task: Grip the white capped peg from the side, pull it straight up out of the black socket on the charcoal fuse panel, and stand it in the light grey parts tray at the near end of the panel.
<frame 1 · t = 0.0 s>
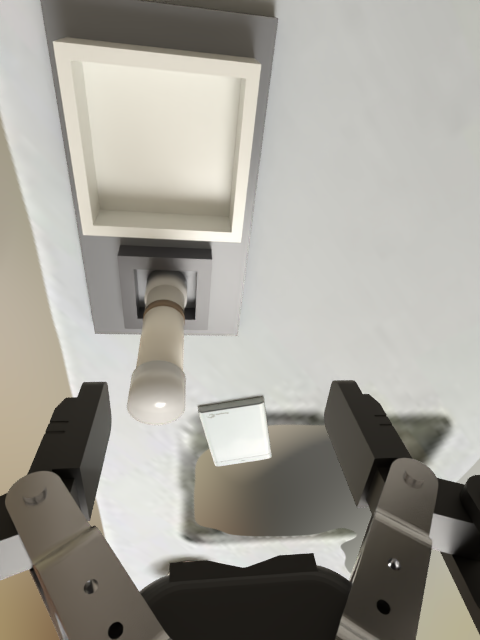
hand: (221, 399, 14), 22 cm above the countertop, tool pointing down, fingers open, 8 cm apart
hard drive: (236, 426, 53), on the countertop
fuse panel: (167, 222, 33), on the countertop
white capped peg: (167, 284, 36), point 1 cm above the countertop, touching fuse panel
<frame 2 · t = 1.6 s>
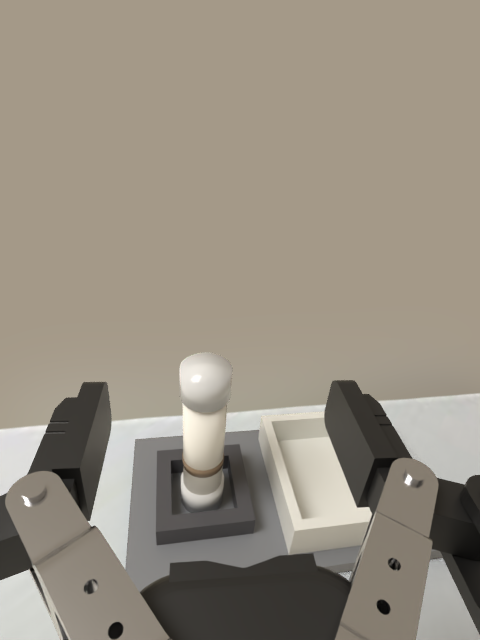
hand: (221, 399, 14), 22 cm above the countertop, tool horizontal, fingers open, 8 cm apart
fuse panel: (262, 498, 36), on the countertop
white capped peg: (202, 496, 34), point 1 cm above the countertop, touching fuse panel
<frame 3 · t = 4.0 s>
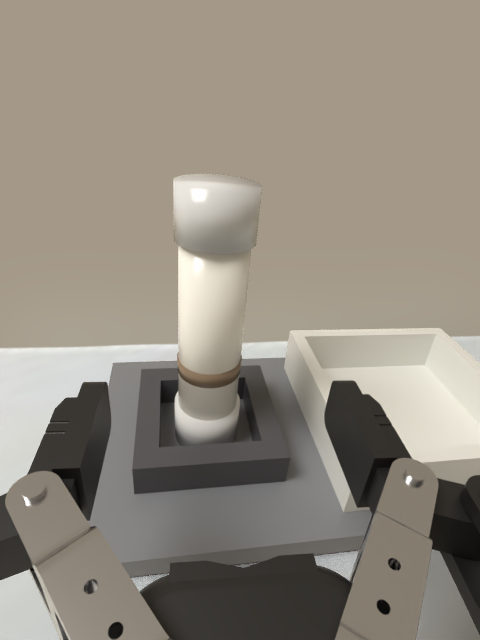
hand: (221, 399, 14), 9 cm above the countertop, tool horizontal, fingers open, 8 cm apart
fuse panel: (293, 439, 25), on the countertop
white capped peg: (206, 431, 23), point 1 cm above the countertop, touching fuse panel
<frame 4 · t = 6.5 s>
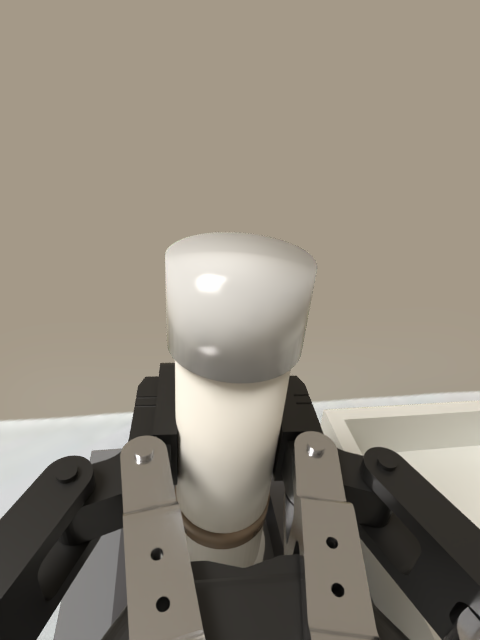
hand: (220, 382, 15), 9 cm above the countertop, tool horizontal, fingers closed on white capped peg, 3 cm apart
fuse panel: (334, 571, 18), on the countertop
white capped peg: (215, 572, 17), point 1 cm above the countertop, touching fuse panel, gripper
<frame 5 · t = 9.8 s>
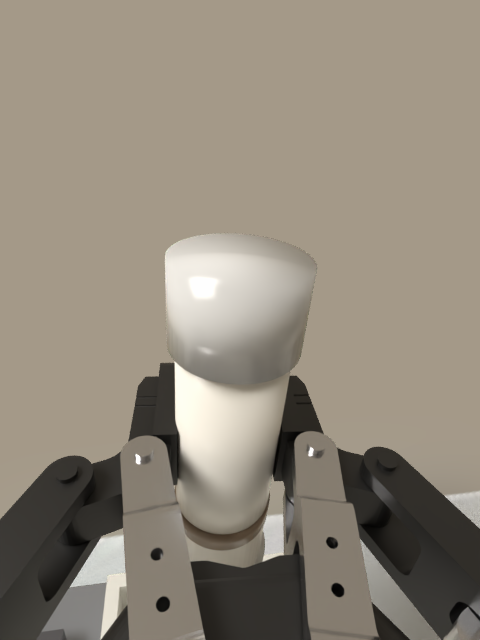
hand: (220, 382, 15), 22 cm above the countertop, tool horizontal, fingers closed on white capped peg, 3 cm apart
white capped peg: (215, 573, 17), point 14 cm above the countertop, touching gripper
when the fingers open (10 cm above the countertop, at t = 13.3 s): white capped peg stays where it is, resting on fuse panel.
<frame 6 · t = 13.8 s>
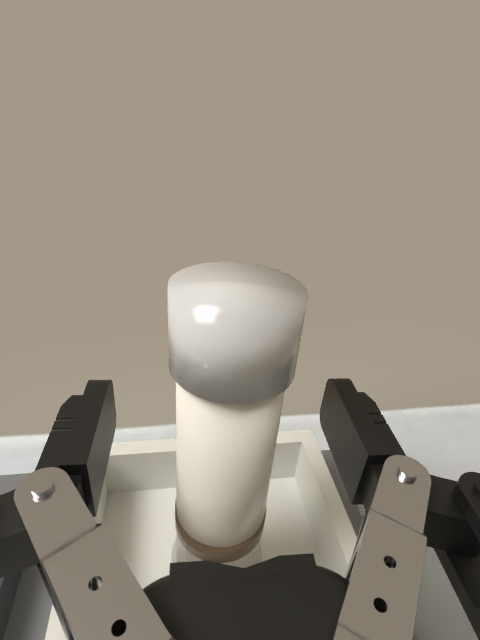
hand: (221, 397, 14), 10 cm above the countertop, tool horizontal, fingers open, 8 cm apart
fuse panel: (58, 625, 17), on the countertop
white capped peg: (214, 586, 17), point 2 cm above the countertop, touching fuse panel
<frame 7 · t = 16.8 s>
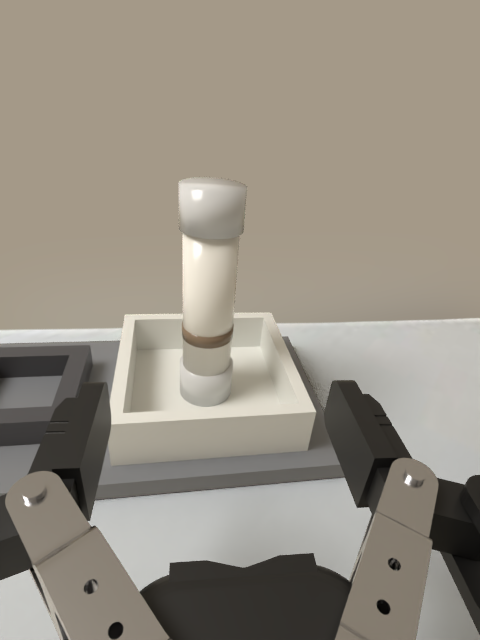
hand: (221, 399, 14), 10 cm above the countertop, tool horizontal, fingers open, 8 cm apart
fuse panel: (111, 410, 28), on the countertop
white capped peg: (205, 389, 28), point 2 cm above the countertop, touching fuse panel
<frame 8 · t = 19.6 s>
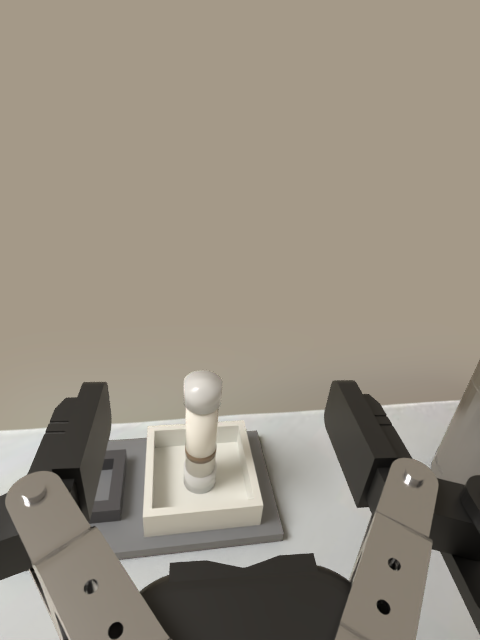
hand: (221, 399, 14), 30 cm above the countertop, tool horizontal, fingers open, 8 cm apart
fuse panel: (140, 493, 44), on the countertop
white capped peg: (199, 479, 44), point 2 cm above the countertop, touching fuse panel
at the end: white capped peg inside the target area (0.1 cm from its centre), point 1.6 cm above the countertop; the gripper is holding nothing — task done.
